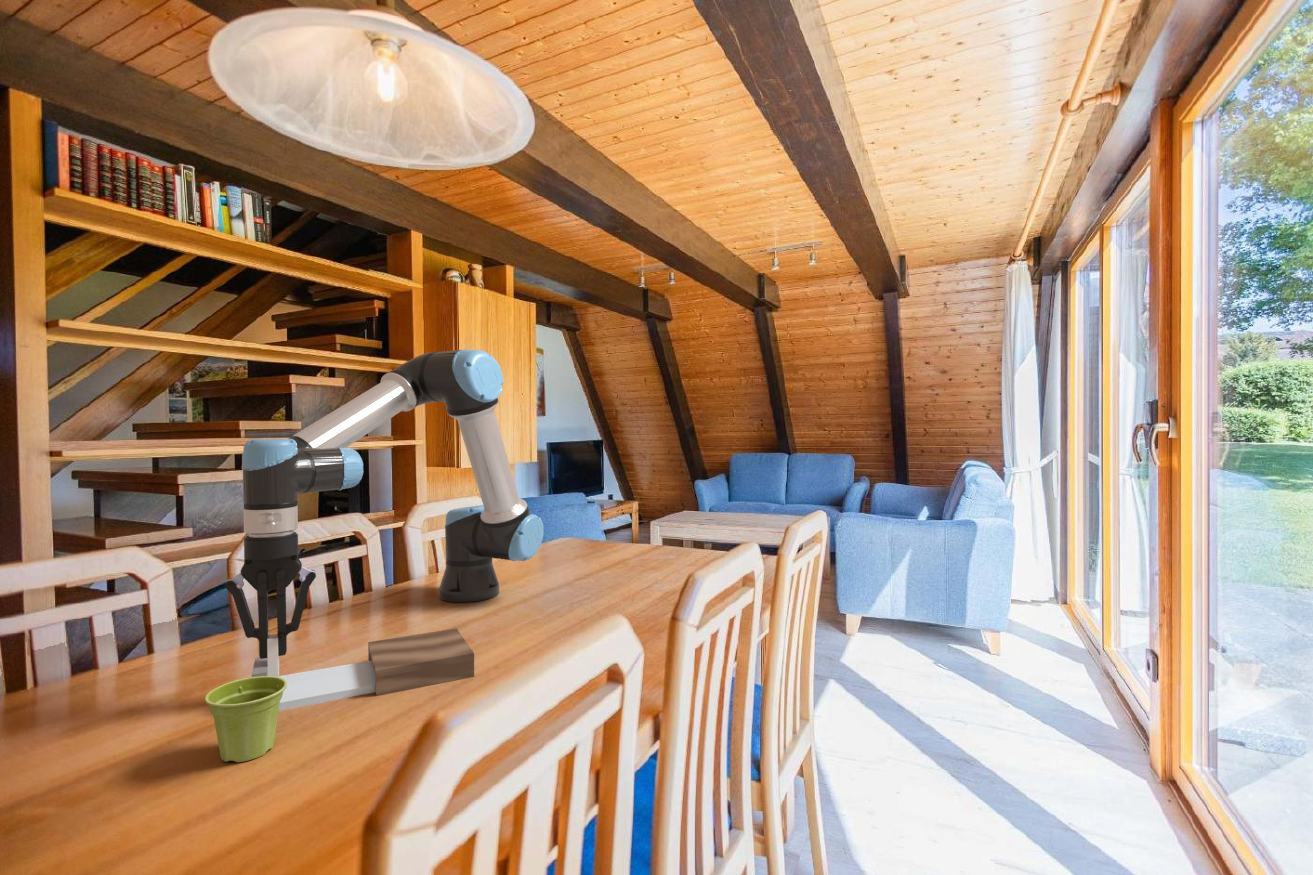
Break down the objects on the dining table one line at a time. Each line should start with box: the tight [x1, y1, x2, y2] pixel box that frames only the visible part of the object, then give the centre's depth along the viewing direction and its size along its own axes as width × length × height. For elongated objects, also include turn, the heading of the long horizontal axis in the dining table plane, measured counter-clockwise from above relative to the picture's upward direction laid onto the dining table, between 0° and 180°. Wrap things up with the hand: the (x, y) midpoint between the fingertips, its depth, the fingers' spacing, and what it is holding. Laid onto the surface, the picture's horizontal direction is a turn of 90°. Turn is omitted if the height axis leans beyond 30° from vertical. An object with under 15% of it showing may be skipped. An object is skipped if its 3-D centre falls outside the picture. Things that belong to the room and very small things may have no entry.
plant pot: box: [204, 676, 287, 763], centre depth 86 cm, size 9×9×9 cm
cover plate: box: [251, 656, 375, 712], centre depth 107 cm, size 12×24×6 cm, turn 119°
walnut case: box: [367, 628, 475, 696], centre depth 114 cm, size 15×16×4 cm
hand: (273, 675), depth 102 cm, fingers closed
